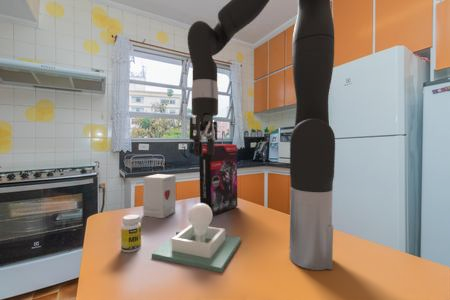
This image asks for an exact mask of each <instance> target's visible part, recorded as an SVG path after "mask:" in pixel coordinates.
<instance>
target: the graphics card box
mask: <svg viewBox="0 0 450 300" xmlns="http://www.w3.org/2000/svg"><path fill="white" fill-rule="evenodd" d="M237 148H238V146H237V144H234V143H233V144H232V143H231V144H230V143H219V144H218V143H214V154H213V155H208V154H207V143H205V144H203V155H202V156H198V159H199V162H198V163H199V164H198V165H199V166H198V168H199V200H200V201H199V203H205V204H207V205H208V206H209V207H210V208H211V210H212V213H213V217H214V216H217V215H219V214H220V213H221V214H222V213H223V212H224V213H225V212H227V211H228V210H232V209H234V208H236V207H238V159H237V155H238V152H237V151H238V150H237Z"/></svg>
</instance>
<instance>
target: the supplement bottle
mask: <svg viewBox="0 0 450 300" xmlns="http://www.w3.org/2000/svg"><path fill="white" fill-rule="evenodd" d="M140 220H141V219H140V215H139V214H127V215H125V216H123V217H122V224H121V228H120V229H121V230H120V232H121V235H120V236H121V241H120V243H121V244H120V248H121V251H122V252H124V253H134V252H136V251H138V250H139V249H140V248H141V247H142V224H141V222H140Z"/></svg>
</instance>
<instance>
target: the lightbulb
mask: <svg viewBox="0 0 450 300" xmlns="http://www.w3.org/2000/svg"><path fill="white" fill-rule="evenodd" d="M187 216H188V217H187V218H188V221H189V223H190V225H192V226H193V228H194V232H195V240H196V241H199V242H206V241H205V239H206V238H205V236H206V232H207V227H210V224H211V222H212V220H213V217H214V216H213V213H212V210H211V208H210V207H209V206H208V205H207V204H205V203H200V202H197V203H195V204H193V205H192V206H191V207H190V209H189V210H188V215H187Z"/></svg>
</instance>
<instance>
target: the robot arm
mask: <svg viewBox="0 0 450 300" xmlns="http://www.w3.org/2000/svg"><path fill="white" fill-rule="evenodd" d="M269 2H270V0H230V1H229V2H227V3H226V4H225V5H224V6H223V7H221V8H220V9H219V10H218V12H217V15H216V16H217V21H218V22H217V24H215V26H214V27H213V28H212V27H211V25H209V24H208V23H207V22H206V21H202V20H197V21H195V22H193V23H192V24H191V25H190V27H189V29H188V32H187V48H188V52H189V57H190V61H191V65H192V84H191V85H192V86H191V115H192V116H190V117H189V139H190V140H192V142H193V143H194V144H193V152H194V156H195V157H199V156H202V155H203V143H204V142H203V141H204V138H205V140H206V144H207V154H208V155H213V154H214V144H215V142H216V141H218V138H219V137H218V122H217V121H218V120H214V118H213V117H216V116H217V115H219V87H218V66H217V62H216V61H215V60H214V58H213V56H215V55H217V54H219V53H220V52H221V51H222V50H223V49H224V48H225V47H226V45H228V44H229V42H230V41H231V40H232V38H233V37H234V36H235V35H236V34H237V33H238V32H240V31H241V30H243V29H244V28H245V27H246V26H249V24H250V23H252V22H253V21H254V20H255V19H256V18H258V16H259V15H260V14H261V13H262V12H263V10H264V9H265V8H266V6H267V5H268V3H269ZM294 23H295V24H294V28H293V34H292V41H291V43H292V45H291V46H292V48H291V51H292V55H291V56H292V57H291V59H292V60H291V62H292V65H291V66H292V77H293V85H294V91H295V102H296V108H295V109H296V110H295V120H294V121H295V122H294V127H293V129H292V131H291V135H290V137H289V138H290V142H289V146H290V147H289V177H290V187H289V188H290V190H289V191H290V193H289V195H290V198H289V199H290V201H289V203H290V204H289V207H290V208H289V247H288V249H289V253H288V254H289V256H288V257H289V258H290V260H291V262H292V263H294V264H295V265H297V266H298V267H300V268H303V269H306V270H311V271H325V270H333V259H334V258H333V256H334V255H333V254H334V253H333V252H334V248H333V247H334V226H333V223H332V222H333V188H334V187H333V186H334V185H333V183H334V179H335V178H334V177H335V158H336V136H335V132H334V130H333V128H332V126H330V121H329V108H328V107H329V104H328V103H329V95H330V87H331V84H332V79H333V71H334V64H335V63H334V62H335V27H334V19H333V13H332V10H331V0H297V16H296V20H295V22H294Z"/></svg>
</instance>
